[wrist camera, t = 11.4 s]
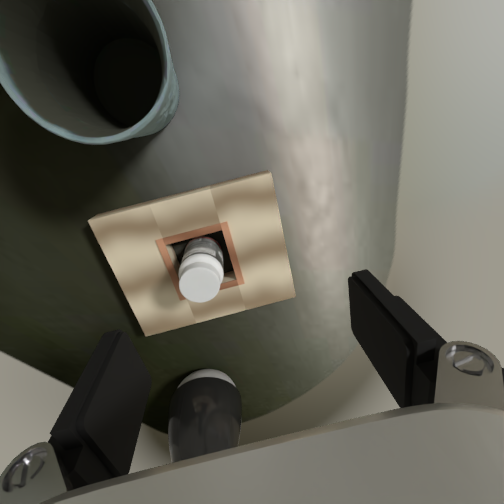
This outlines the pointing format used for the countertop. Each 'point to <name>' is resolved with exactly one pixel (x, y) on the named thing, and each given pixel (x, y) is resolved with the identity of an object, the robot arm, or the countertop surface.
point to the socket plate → (189, 226)
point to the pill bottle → (201, 269)
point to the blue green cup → (88, 67)
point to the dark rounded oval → (204, 415)
